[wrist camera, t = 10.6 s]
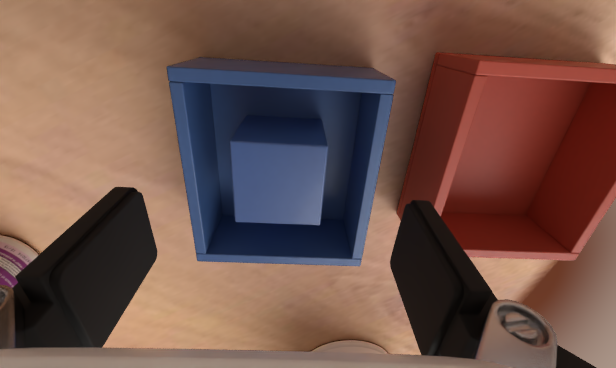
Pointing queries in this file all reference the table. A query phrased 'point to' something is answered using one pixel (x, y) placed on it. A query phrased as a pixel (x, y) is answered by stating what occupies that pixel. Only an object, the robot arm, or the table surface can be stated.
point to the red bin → (516, 153)
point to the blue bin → (280, 103)
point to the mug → (350, 347)
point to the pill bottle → (13, 259)
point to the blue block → (278, 170)
